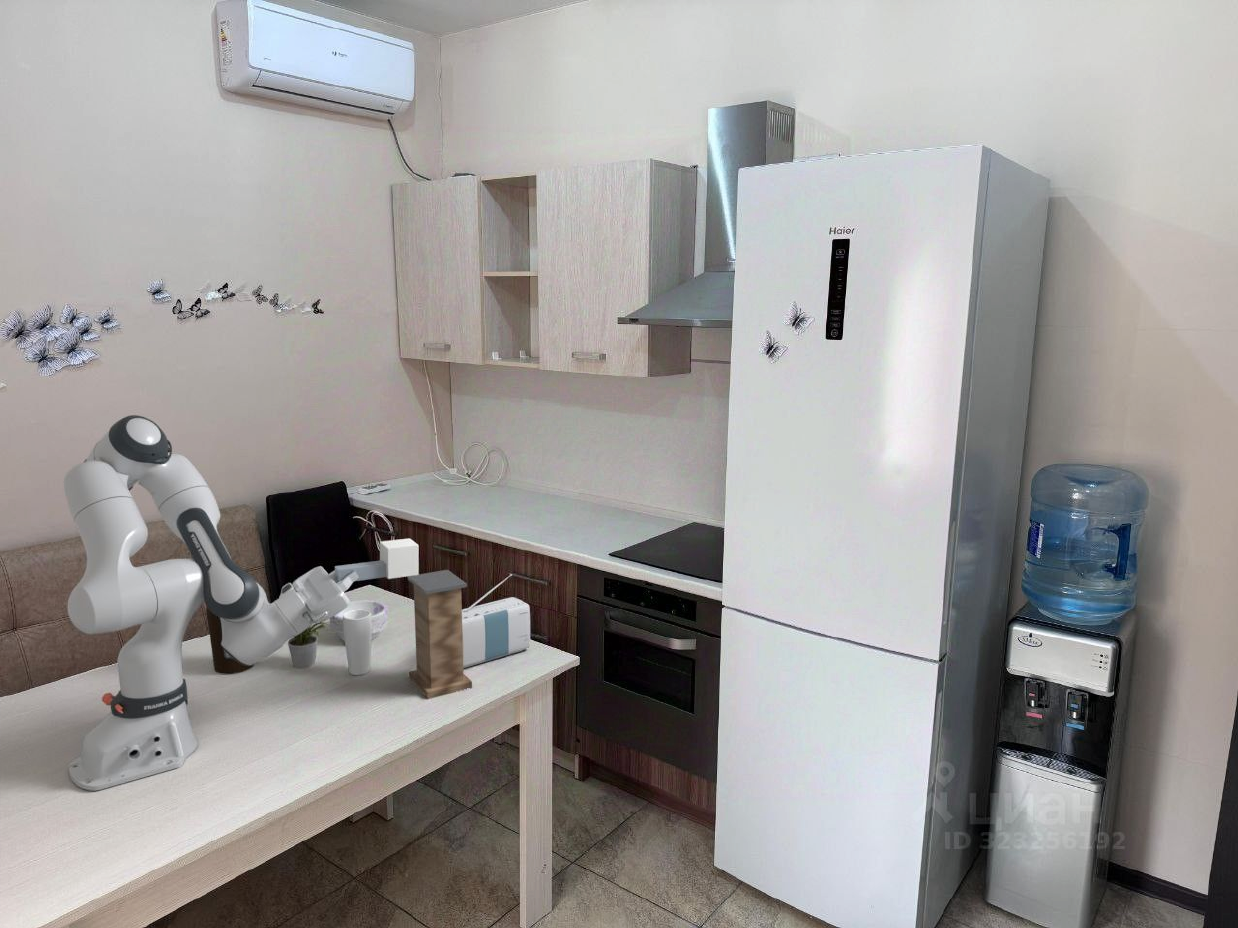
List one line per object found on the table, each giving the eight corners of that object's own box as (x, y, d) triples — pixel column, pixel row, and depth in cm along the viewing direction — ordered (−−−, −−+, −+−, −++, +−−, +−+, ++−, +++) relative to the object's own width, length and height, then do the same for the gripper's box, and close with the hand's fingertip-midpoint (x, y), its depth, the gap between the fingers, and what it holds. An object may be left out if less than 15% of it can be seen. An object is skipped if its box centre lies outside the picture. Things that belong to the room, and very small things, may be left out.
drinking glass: (356, 679, 205) (353, 621, 202) (339, 672, 209) (336, 614, 206) (379, 670, 210) (377, 613, 207) (362, 663, 214) (360, 607, 211)
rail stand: (427, 698, 196) (424, 592, 191) (408, 677, 206) (405, 576, 201) (472, 687, 201) (469, 583, 196) (451, 667, 212) (448, 568, 207)
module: (340, 585, 183) (339, 554, 182) (333, 577, 188) (332, 547, 187) (418, 574, 193) (418, 545, 191) (409, 567, 198) (409, 538, 196)
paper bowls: (400, 633, 234) (399, 605, 232) (357, 651, 221) (355, 623, 220) (362, 621, 242) (361, 595, 240) (318, 639, 229) (316, 611, 227)
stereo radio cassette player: (461, 672, 210) (459, 596, 206) (445, 661, 216) (443, 587, 212) (532, 651, 223) (531, 579, 219) (515, 641, 229) (514, 571, 225)
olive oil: (205, 665, 212) (196, 570, 207) (248, 653, 219) (241, 561, 214) (220, 679, 204) (211, 580, 199) (264, 666, 211) (257, 571, 207)
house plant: (312, 680, 204) (308, 617, 201) (261, 675, 207) (256, 612, 204) (343, 656, 218) (340, 596, 215) (294, 651, 220) (290, 592, 217)
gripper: (301, 614, 173) (359, 573, 177) (280, 584, 189) (334, 547, 194) (318, 636, 175) (375, 595, 180) (296, 604, 192) (349, 567, 197)
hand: (353, 570), depth 187 cm, fingers closed on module, 3 cm apart
